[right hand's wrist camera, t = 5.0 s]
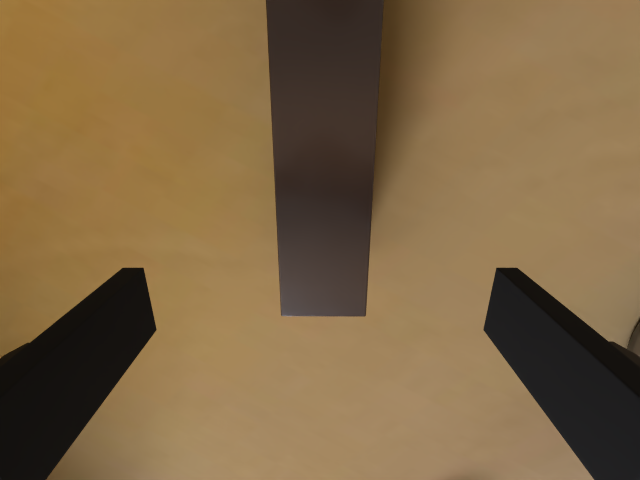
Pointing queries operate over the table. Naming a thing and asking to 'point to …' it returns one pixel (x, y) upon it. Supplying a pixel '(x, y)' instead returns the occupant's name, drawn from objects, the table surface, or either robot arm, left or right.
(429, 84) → the table surface
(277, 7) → the plank
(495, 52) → the table surface
